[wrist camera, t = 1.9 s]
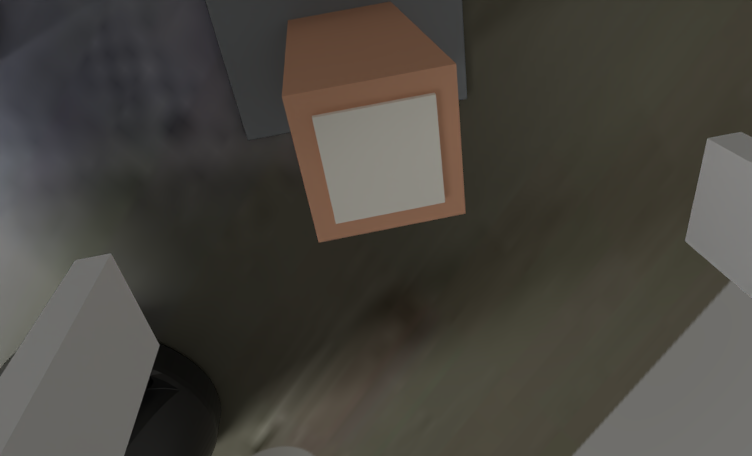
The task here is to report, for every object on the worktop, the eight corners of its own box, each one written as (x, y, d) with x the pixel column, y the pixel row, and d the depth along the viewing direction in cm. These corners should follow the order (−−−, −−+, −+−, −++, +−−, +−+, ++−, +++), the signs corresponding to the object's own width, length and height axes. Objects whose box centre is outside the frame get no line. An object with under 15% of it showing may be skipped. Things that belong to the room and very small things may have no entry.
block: (310, 119, 27) (319, 245, 17) (287, 20, 24) (281, 98, 14) (402, 101, 27) (467, 216, 17) (390, 1, 25) (457, 65, 14)
